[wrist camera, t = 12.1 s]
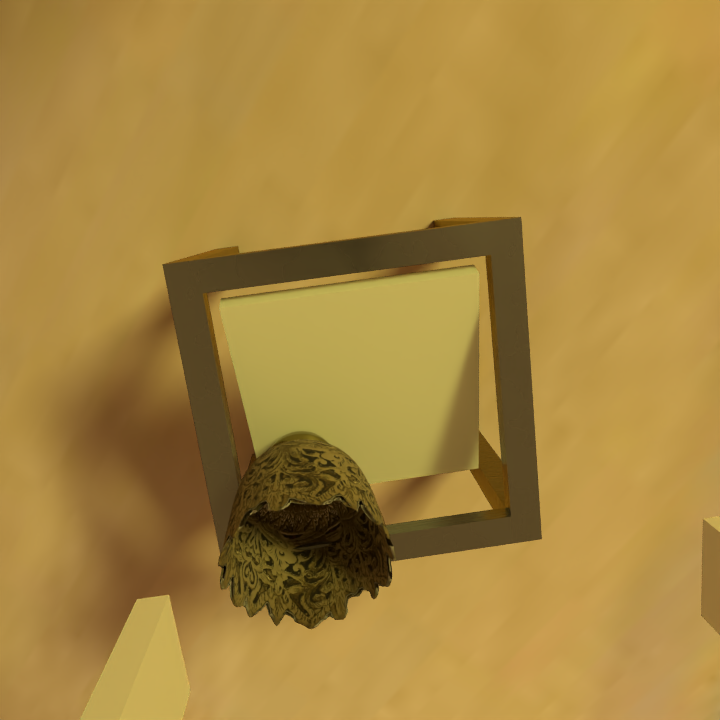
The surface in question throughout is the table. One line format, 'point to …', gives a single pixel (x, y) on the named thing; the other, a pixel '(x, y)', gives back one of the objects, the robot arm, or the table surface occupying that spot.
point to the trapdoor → (365, 369)
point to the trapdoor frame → (442, 243)
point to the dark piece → (304, 534)
